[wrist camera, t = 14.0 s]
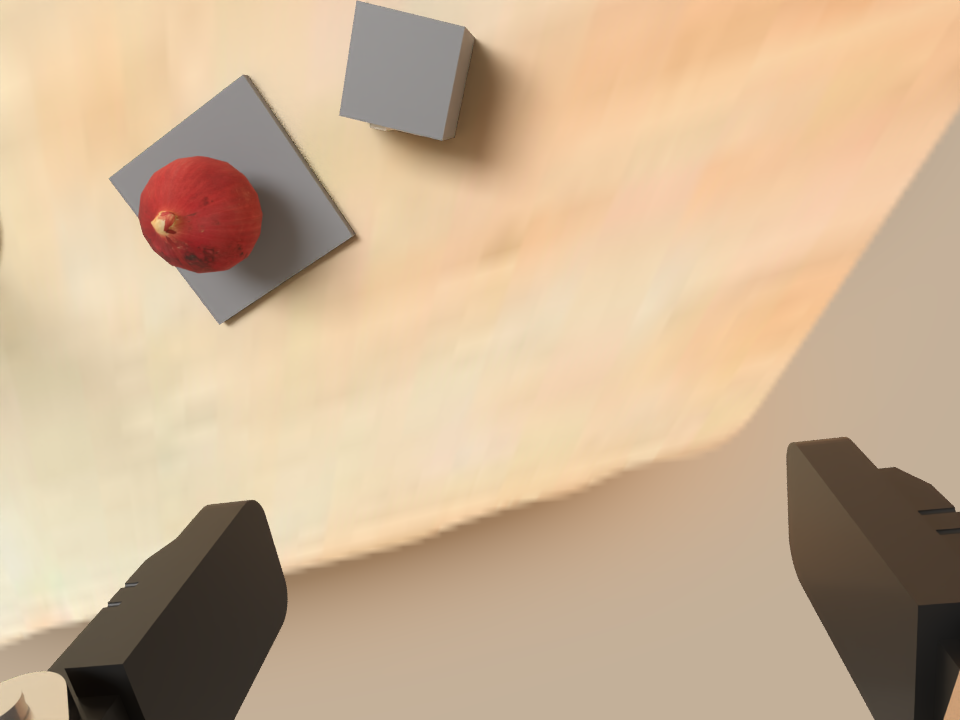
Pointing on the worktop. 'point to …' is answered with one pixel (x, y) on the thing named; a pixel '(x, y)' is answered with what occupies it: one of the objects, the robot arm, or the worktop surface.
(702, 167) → the worktop surface
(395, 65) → the marked cube
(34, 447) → the worktop surface
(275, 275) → the mat
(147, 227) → the onion
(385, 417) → the worktop surface
